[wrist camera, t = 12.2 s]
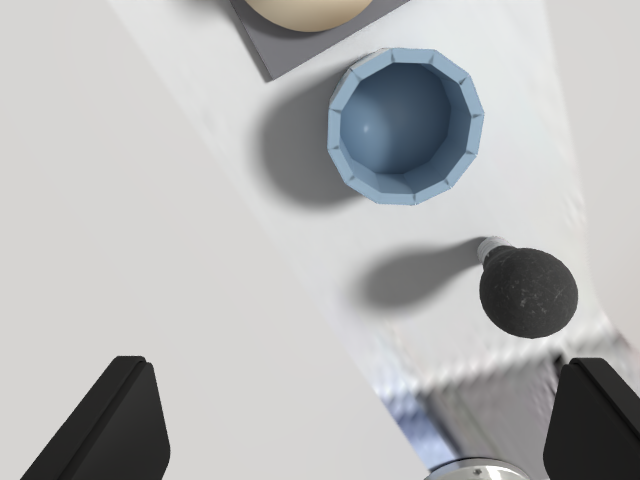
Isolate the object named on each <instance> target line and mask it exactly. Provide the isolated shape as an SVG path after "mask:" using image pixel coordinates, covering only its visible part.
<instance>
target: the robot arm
mask: <svg viewBox="0 0 640 480" xmlns="http://www.w3.org/2000/svg"><path fill="white" fill-rule="evenodd" d="M169 459H170V444H169V439H168V435H167V430H166V425H165V421H164V416H163V411H162V406H161V401H160V397H159V392H158V387H157V383H156V378H155V373H154V368H153V365H152V364H151V363H149V362H146V360H145V358H144V357H142V356H117V357H116V358H114V359H113V361H112V362H111V363H110V365H109V366H108V367H107V368H106V370H105V371H104V372H103V374H102V375H101V376H100V377H99V379H98V380H97V381H96V383H95V384H94V385H93V386H92V388H91V389H90V390H89V392H88V393H87V394H86V395H85V397H84V398H83V399H82V401H81V402H80V403H79V405H78V406H77V407H76V408H75V410H74V411H73V412H72V414H71V415H70V416H69V417H68V419H67V420H66V422H64V424H63V425H62V426H61V427H60V429H59V430H58V431H57V433H56V434H55V435H54V436H53V438H52V439H51V440H50V441H49V443H48V444H47V445H46V447H45V448H44V449H43V451H42V452H41V453H40V455H39V456H38V457H37V458H36V460H35V461H34V462H33V464H32V465H31V466H30V467H29V469H28V470H27V471H26V472H25V474H24V475H23V477H22V478H21V479H20V480H162V477H163V475H164V473H165V470H166V468H167V466H168V463H169ZM543 461H544V466H545V469H546V472H547V474H548V476H549V478H550V480H640V398H639V397H638V396H637V395H636V394H635V392H634V391H633V390H632V389H631V388H630V387H629V386H628V385H627V384H626V382H625V381H624V380H623V379H622V378H621V377H620V376H619V375H618V374H617V372H616V371H615V370H614V369H613V368H612V367H611V366H610V365H609V364H608V362H607V361H605V360H604V359H602V358H573V359H571V361H570V362H569V364H566V365H564V366H563V367H562V370H561V374H560V379H559V383H558V388H557V393H556V397H555V402H554V406H553V411H552V415H551V420H550V424H549V429H548V433H547V438H546V443H545V447H544V452H543ZM424 480H530V478H529V477H528V475H526V474H525V473H524V472H523V471H522V470H521V469H519V468H517V467H515V466H513V465H511V464H509V463H506V462H503V461H499V460H493V459H480V458H477V459H466V460H461V461H457V462H453V463H450V464H448V465H445V466H443V467H441V468H439V469H437V470H436V471H434V472H432V473H431V474H430V475H429V476H428V477H426V478H425V479H424Z"/></svg>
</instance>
